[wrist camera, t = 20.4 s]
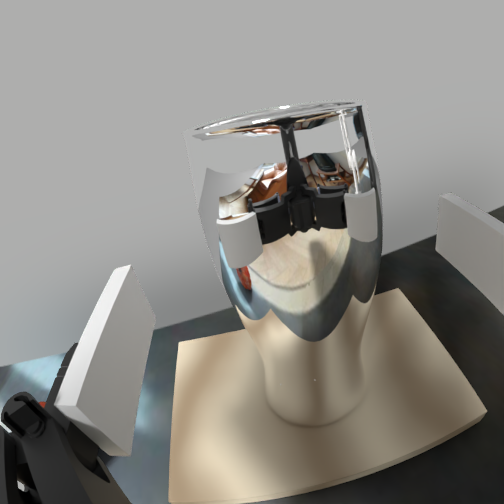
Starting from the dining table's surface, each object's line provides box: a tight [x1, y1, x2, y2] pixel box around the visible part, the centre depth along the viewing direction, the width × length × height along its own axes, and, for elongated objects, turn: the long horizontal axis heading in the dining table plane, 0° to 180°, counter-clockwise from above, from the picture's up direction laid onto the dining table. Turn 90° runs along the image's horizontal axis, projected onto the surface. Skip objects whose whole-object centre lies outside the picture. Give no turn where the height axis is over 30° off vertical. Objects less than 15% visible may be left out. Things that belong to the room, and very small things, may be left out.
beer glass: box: [183, 100, 383, 426], centre depth 13 cm, size 7×7×15 cm
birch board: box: [169, 288, 487, 504], centre depth 17 cm, size 18×13×1 cm
